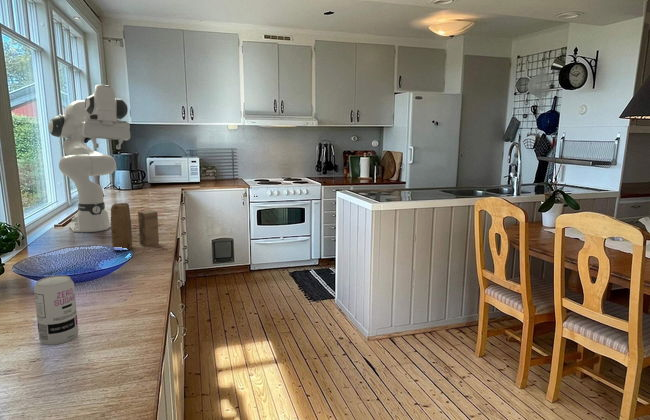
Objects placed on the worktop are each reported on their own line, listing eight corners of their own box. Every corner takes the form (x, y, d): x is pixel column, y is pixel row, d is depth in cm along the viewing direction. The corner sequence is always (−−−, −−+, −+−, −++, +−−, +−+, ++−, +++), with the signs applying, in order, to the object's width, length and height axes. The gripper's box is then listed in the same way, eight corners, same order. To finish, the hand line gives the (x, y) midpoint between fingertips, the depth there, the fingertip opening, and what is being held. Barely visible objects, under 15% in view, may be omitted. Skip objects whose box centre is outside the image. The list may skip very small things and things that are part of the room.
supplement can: (50, 331, 108) (45, 274, 105) (84, 330, 109) (79, 274, 106) (31, 346, 100) (25, 286, 97) (68, 345, 101) (63, 286, 98)
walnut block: (139, 243, 193) (138, 211, 191) (152, 241, 198) (150, 210, 195) (146, 246, 190) (144, 213, 187) (158, 244, 194) (157, 212, 192)
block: (130, 251, 181) (128, 205, 177) (111, 252, 179) (108, 206, 175) (133, 245, 191) (131, 201, 188) (115, 246, 189) (112, 202, 185)
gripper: (127, 122, 207) (129, 150, 207) (80, 118, 194) (81, 148, 194) (131, 119, 203) (133, 148, 202) (83, 115, 189) (84, 145, 189)
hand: (107, 148), depth 198 cm, fingers open, 8 cm apart
